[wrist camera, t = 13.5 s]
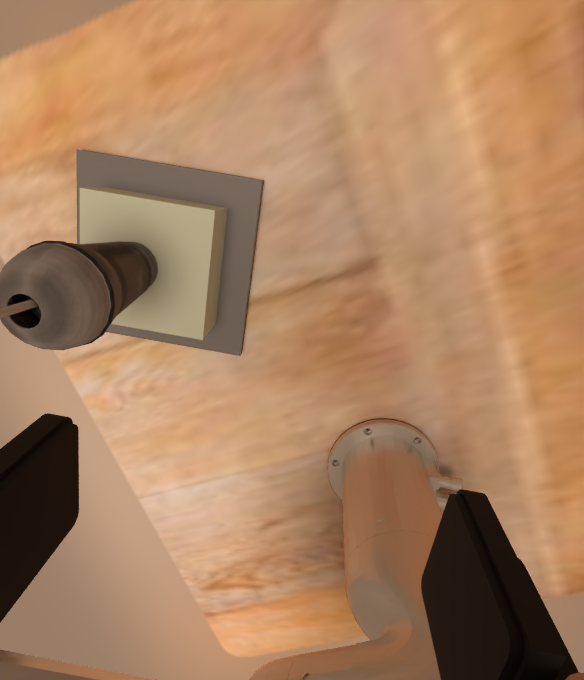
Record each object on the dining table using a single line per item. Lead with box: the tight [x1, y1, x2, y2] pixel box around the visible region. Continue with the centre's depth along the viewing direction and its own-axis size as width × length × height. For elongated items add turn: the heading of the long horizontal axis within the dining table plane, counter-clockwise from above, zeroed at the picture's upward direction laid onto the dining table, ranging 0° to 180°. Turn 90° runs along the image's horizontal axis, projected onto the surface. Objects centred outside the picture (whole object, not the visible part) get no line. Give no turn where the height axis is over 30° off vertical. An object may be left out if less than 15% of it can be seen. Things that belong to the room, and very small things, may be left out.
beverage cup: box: [0, 241, 158, 350], centre depth 31 cm, size 7×7×20 cm
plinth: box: [77, 149, 264, 356], centre depth 44 cm, size 18×18×6 cm
